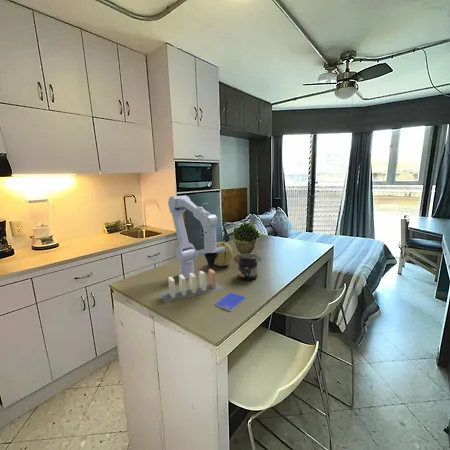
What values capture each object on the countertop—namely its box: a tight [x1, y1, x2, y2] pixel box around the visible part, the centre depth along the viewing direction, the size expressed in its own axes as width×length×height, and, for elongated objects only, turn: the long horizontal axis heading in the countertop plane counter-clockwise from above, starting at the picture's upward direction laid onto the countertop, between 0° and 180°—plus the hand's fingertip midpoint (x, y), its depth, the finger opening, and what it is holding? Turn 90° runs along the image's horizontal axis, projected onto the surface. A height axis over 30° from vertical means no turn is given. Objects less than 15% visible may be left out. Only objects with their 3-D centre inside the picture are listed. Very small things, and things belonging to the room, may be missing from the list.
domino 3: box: [188, 273, 197, 293], centre depth 118 cm, size 5×2×8 cm, turn 26°
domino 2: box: [178, 275, 187, 295], centre depth 116 cm, size 5×2×8 cm, turn 26°
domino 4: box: [198, 270, 207, 291], centre depth 120 cm, size 5×2×8 cm, turn 26°
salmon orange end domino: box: [208, 268, 217, 288], centre depth 123 cm, size 5×2×8 cm, turn 25°
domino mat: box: [158, 281, 225, 303], centre depth 119 cm, size 10×29×1 cm, turn 116°
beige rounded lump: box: [214, 241, 234, 267], centre depth 152 cm, size 15×15×15 cm
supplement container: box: [237, 252, 258, 281], centre depth 134 cm, size 10×10×12 cm
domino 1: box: [167, 276, 176, 298], centre depth 114 cm, size 5×2×8 cm, turn 26°
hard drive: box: [214, 292, 246, 312], centre depth 108 cm, size 2×8×12 cm
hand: (210, 267), depth 121 cm, fingers closed
